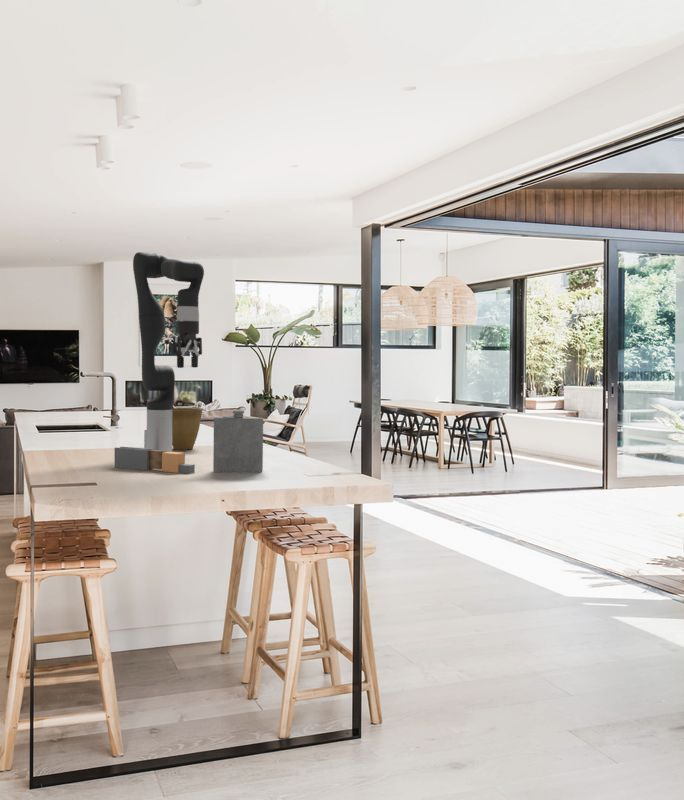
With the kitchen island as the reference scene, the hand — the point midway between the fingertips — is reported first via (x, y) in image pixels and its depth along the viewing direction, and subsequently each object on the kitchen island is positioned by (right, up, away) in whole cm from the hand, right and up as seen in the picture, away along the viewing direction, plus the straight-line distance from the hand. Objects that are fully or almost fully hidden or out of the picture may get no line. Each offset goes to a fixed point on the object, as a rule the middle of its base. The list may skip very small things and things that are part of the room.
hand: (187, 367), depth 294 cm
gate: (-11, -34, -13) cm, 38 cm away
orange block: (-1, -34, -18) cm, 38 cm away
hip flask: (+19, -35, -15) cm, 42 cm away
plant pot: (-10, -31, +45) cm, 56 cm away
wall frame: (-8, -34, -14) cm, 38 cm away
